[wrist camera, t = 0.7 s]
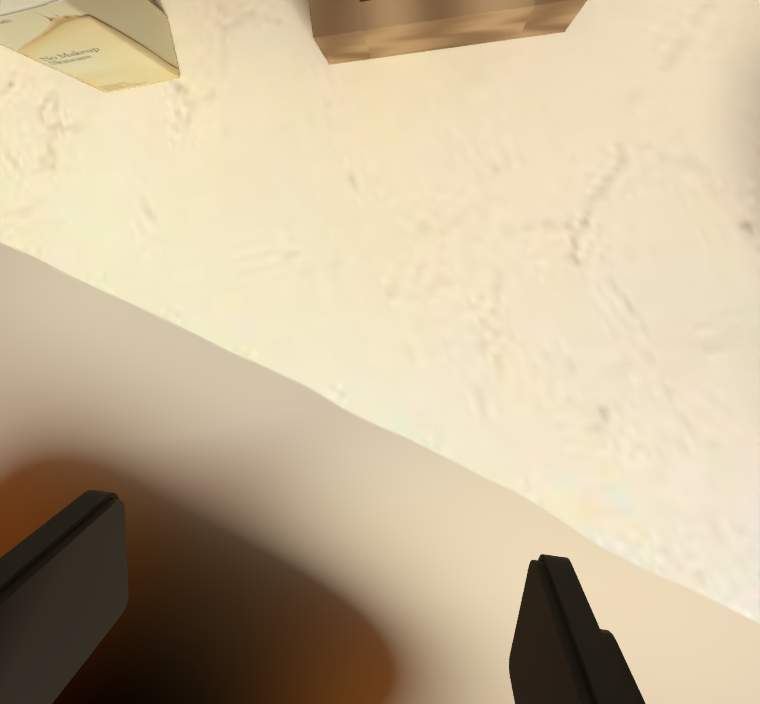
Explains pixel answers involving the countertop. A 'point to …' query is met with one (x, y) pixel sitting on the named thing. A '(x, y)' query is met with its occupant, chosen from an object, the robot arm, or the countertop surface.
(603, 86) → the countertop surface
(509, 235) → the countertop surface
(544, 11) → the walnut socket block
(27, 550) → the robot arm
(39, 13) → the skincare box
